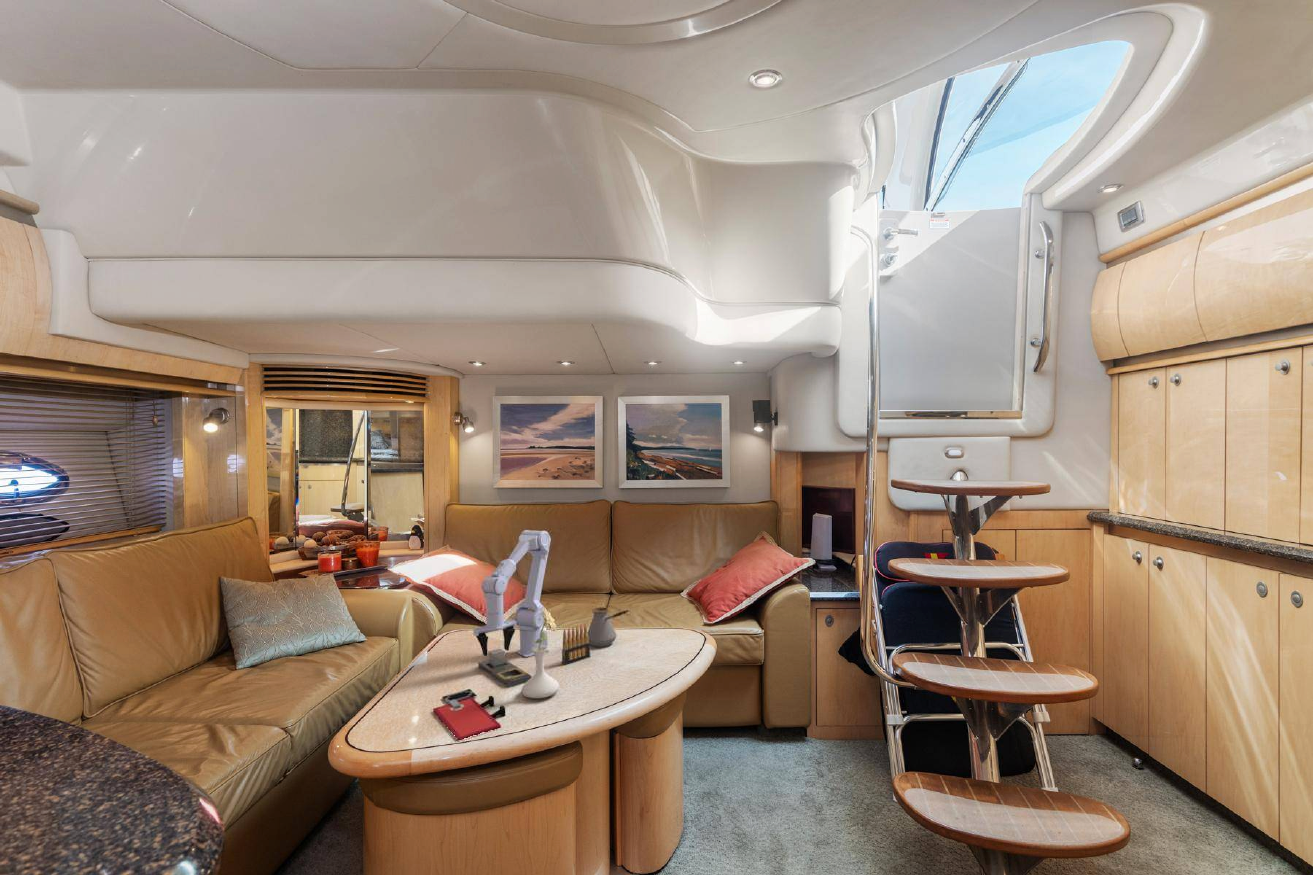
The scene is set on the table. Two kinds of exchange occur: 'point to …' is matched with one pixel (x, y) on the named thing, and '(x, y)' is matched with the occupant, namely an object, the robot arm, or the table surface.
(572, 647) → the ammunition clip
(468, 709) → the red board with handle
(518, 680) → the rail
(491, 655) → the grey rectangular block
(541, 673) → the flower in vase
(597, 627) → the coffee pot
